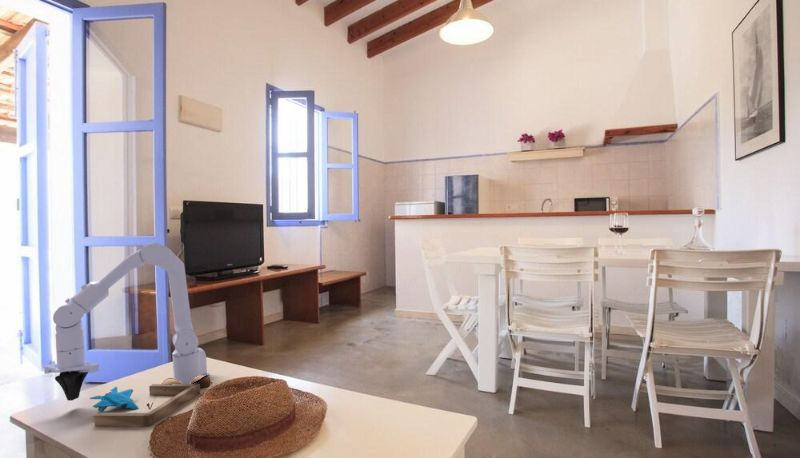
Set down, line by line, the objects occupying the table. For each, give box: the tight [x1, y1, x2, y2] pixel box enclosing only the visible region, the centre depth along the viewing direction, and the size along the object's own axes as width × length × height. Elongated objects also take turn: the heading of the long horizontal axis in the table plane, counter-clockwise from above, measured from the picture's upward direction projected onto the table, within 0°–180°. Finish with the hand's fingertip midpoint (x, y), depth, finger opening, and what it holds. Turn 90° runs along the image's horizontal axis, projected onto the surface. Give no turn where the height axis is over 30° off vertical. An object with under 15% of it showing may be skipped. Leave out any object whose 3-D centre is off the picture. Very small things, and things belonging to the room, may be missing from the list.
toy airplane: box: [89, 386, 140, 412], centre depth 105 cm, size 12×10×4 cm
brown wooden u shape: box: [93, 383, 201, 427], centre depth 103 cm, size 19×14×2 cm
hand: (73, 399), depth 106 cm, fingers closed
